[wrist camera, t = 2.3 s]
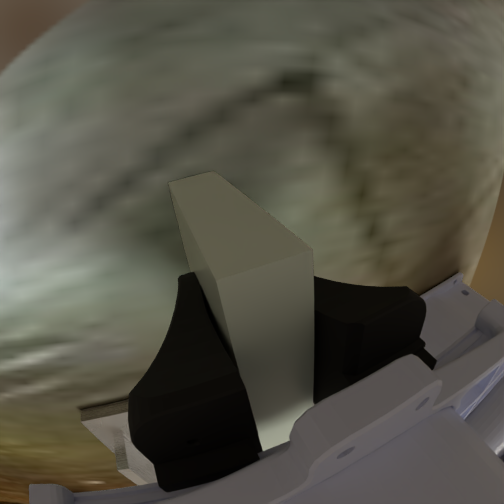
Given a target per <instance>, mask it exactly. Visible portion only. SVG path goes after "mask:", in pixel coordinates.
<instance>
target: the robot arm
mask: <svg viewBox="0 0 504 504" xmlns="http://www.w3.org/2000/svg"><path fill="white" fill-rule="evenodd" d="M462 279H463V274H462V273H461V272H459V273H457V274H456V275H454V276H452V277H451V278H449V279H448V280H446V281H444V282H443V283H441V284H439V285H438V286H436V287H434V288H433V289H431V290H429V291H428V292H426V293H424V294H422V295H421V296H419V295H417V294H416V293H415V292H413V291H412V290H411V289H409V288H408V287H407V286H402V287H375V286H362V285H353V284H347V283H341V282H336V281H331V280H327V279H323V278H319V277H316V276H314V384H313V402H314V404H315V405H314V406H312V407H311V408H309V409H307V410H306V411H305V412H304V413H303V414H302V415H301V416H300V417H299V418H298V419H297V420H296V421H295V423H294V425H293V428H292V430H291V432H290V435H289V439H290V440H289V441H287V442H285V443H282V444H280V445H277V446H275V447H272V448H270V449H267V450H265V451H263V450H262V446H261V443H260V439H259V436H258V430H257V427H256V423H255V420H254V416H253V412H252V409H251V405H250V401H249V398H248V394H247V390H246V387H245V385H244V383H243V381H242V379H241V376H240V374H239V372H238V370H237V369H236V367H235V366H234V364H233V362H232V361H231V359H230V357H229V356H228V354H227V352H226V350H225V349H224V347H223V345H222V343H221V341H220V339H219V337H218V335H217V333H216V331H215V329H214V327H213V325H212V323H211V321H210V318H209V315H208V312H207V308H206V305H205V301H204V298H203V294H202V291H201V287H200V283H199V280H198V278H197V276H196V274H195V273H194V272H191V273H187V274H184V275H181V276H179V278H178V294H177V300H176V305H175V310H174V313H173V317H172V320H171V324H170V327H169V330H168V332H167V335H166V337H165V340H164V342H163V344H162V346H161V348H160V350H159V352H158V354H157V356H156V358H155V359H154V361H153V362H152V364H151V366H150V367H149V369H148V370H147V372H146V373H145V375H144V376H143V377H142V379H141V380H140V381H139V382H138V384H137V385H136V386H135V387H134V388H133V390H132V391H131V392H130V393H129V401H128V425H129V431H130V437H131V442H132V443H133V445H134V446H135V448H136V449H137V450H138V451H140V452H141V453H142V454H143V455H144V456H145V457H146V458H147V459H148V460H149V461H150V462H151V463H152V464H153V465H154V469H155V474H156V478H157V482H155V483H150V484H144V485H139V486H133V487H126V488H119V489H112V490H103V491H93V492H80V493H72V492H71V491H70V490H68V489H67V488H65V487H63V486H61V485H57V484H31V485H29V502H30V504H504V305H502V304H501V303H500V302H498V301H497V300H495V299H493V300H491V301H488V300H487V299H485V298H484V297H483V296H481V295H480V294H479V293H477V292H476V291H474V290H473V289H471V288H470V287H469V286H467V285H466V284H464V283H463V282H462Z"/></svg>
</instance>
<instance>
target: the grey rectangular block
mask: <svg viewBox="0 0 504 504" xmlns="http://www.w3.org/2000/svg"><path fill="white" fill-rule="evenodd" d="M168 184H169V189H170V193H171V197H172V202H173V206H174V210H175V214H176V218H177V222H178V226H179V230H180V234H181V238H182V241H183V245H184V249H185V253H186V257H187V260H188V264H189V268H190V271H191V272H194V273H195V274H196V276H197V278H198V280H199V283H200V287H201V291H202V294H203V298H204V301H205V305H206V308H207V312H208V315H209V318H210V321H211V323H212V325H213V327H214V329H215V331H216V333H217V335H218V337H219V339H220V341H221V343H222V345H223V347H224V349H225V350H226V352H227V354H228V356H229V357H230V359H231V361H232V362H233V364H234V366H235V367H236V369H237V370H238V372H239V374H240V376H241V379H242V381H243V383H244V385H245V387H246V390H247V394H248V398H249V401H250V405H251V409H252V412H253V416H254V420H255V423H256V427H257V430H258V436H259V439H260V443H261V446H262V450H263V451H265V450H267V449H270V448H272V447H275V446H277V445H280V444H282V443H285V442H287V441H289V440H290V439H289V435H290V432H291V430H292V428H293V425H294V423H295V421H296V420H297V419H298V418H299V417H300V416H301V415H302V414H303V413H304V412H305V411H306V410H307V409H309V408H311V407H312V406H313V384H314V269H313V249H312V248H311V247H309V246H308V245H307V244H306V243H304V242H303V241H302V240H301V239H300V238H298V237H297V236H296V235H295V234H293V233H292V232H291V231H290V230H289V229H287V228H286V227H285V226H284V225H282V224H281V223H280V222H279V221H277V220H276V219H275V218H274V217H272V216H271V215H270V214H269V213H267V212H266V211H265V210H264V209H262V208H261V207H260V206H258V205H257V204H256V203H255V202H253V201H252V200H251V199H250V198H248V197H247V196H246V195H244V194H243V193H242V192H241V191H239V190H238V189H237V188H235V187H234V186H233V185H232V184H230V183H229V182H228V181H226V180H225V179H224V178H222V177H221V176H220V175H219V174H217V173H216V172H215V171H211V172H207V173H203V174H199V175H195V176H191V177H187V178H183V179H179V180H176V181H172V182H168Z"/></svg>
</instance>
